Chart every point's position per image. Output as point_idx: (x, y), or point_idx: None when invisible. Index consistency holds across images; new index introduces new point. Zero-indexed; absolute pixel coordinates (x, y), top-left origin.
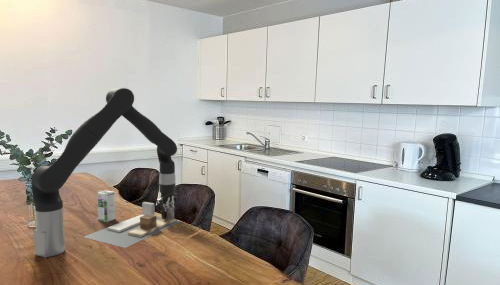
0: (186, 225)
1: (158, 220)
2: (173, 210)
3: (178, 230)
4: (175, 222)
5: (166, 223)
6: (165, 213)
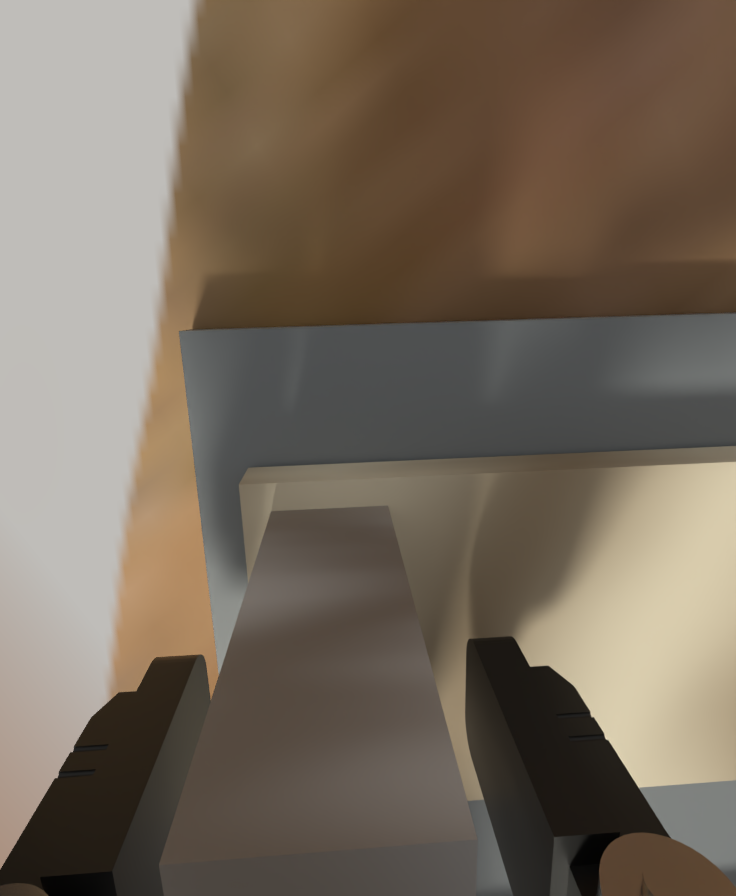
0: (246, 80)
1: None
2: (262, 685)
3: (657, 23)
4: (323, 408)
5: (628, 464)
6: (577, 762)
